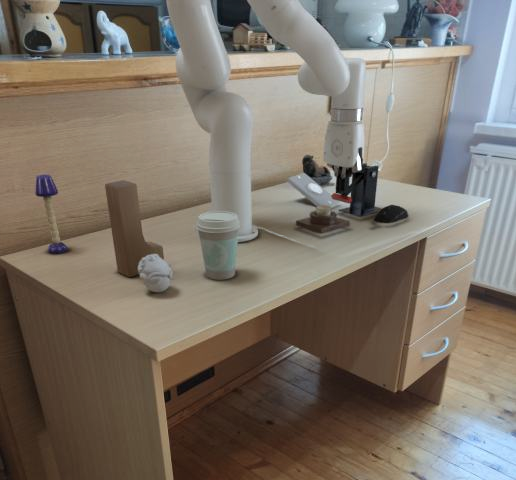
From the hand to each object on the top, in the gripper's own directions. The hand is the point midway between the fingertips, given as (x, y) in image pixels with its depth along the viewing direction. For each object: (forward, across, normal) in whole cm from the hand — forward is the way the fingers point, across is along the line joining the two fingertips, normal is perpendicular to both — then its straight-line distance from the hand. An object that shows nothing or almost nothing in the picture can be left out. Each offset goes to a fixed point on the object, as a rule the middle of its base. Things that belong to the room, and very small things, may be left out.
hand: (342, 192), depth 137 cm
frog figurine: (+7, +10, -61) cm, 62 cm away
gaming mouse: (+7, +10, +8) cm, 14 cm away
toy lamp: (+7, -25, -67) cm, 71 cm away
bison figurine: (+7, -32, +22) cm, 40 cm away
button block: (+7, +3, -10) cm, 12 cm away
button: (+3, +3, -10) cm, 11 cm away
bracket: (+7, 0, +8) cm, 11 cm away
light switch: (+7, -15, +4) cm, 17 cm away
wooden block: (+7, -2, -58) cm, 58 cm away
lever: (0, 0, +5) cm, 5 cm away
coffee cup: (+7, +11, -47) cm, 48 cm away
